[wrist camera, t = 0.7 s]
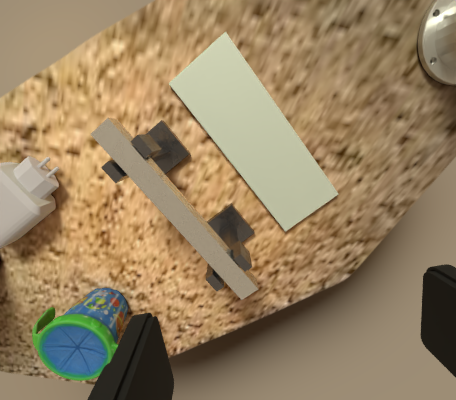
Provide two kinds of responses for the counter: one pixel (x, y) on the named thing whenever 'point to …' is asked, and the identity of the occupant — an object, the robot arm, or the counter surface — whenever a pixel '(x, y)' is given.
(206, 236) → the rail
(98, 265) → the counter surface
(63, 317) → the snack cup
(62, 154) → the counter surface
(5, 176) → the charger
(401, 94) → the counter surface
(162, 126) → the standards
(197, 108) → the board
